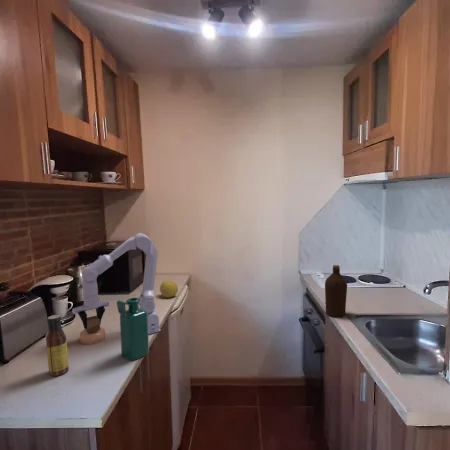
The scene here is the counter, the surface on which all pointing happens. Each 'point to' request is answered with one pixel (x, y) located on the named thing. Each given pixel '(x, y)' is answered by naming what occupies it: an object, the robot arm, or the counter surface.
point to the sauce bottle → (56, 347)
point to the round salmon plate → (92, 336)
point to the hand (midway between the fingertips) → (92, 326)
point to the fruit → (168, 289)
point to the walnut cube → (92, 324)
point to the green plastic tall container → (133, 329)
